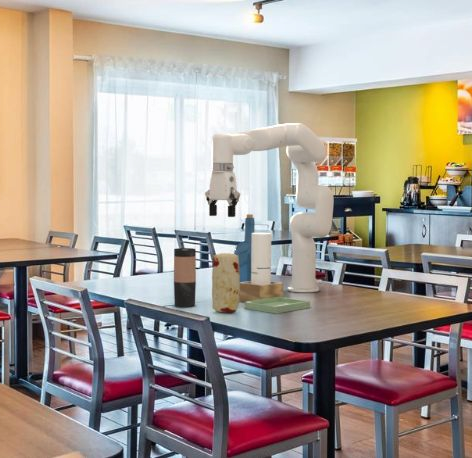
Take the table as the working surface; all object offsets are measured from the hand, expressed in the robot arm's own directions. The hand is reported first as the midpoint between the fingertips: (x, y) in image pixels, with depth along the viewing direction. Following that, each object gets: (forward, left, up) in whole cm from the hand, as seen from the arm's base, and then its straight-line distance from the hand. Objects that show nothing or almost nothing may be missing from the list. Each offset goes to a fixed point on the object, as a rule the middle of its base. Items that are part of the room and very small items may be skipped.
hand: (222, 216), depth 280 cm
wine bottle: (-40, -26, -31) cm, 57 cm away
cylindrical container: (-12, +8, -31) cm, 35 cm away
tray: (-6, +22, -31) cm, 39 cm away
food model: (+13, +16, -31) cm, 38 cm away
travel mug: (+14, -4, -31) cm, 35 cm away
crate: (-12, +8, -31) cm, 34 cm away
